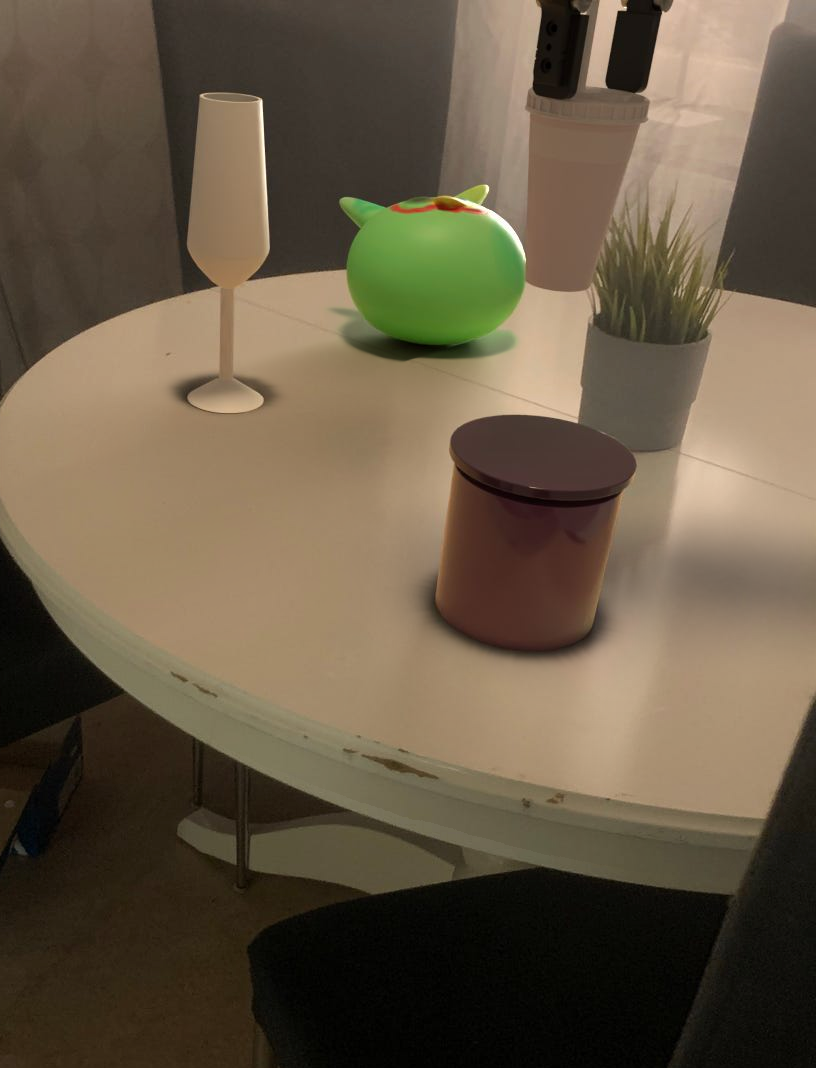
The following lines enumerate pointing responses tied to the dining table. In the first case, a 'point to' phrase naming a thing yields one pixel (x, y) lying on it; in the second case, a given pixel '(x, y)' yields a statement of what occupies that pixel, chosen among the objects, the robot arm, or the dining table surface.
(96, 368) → the dining table surface
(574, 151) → the smoothie
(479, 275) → the green rounded blob
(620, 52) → the robot arm
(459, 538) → the jar
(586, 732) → the dining table surface
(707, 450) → the dining table surface
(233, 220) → the champagne flute
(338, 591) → the dining table surface
